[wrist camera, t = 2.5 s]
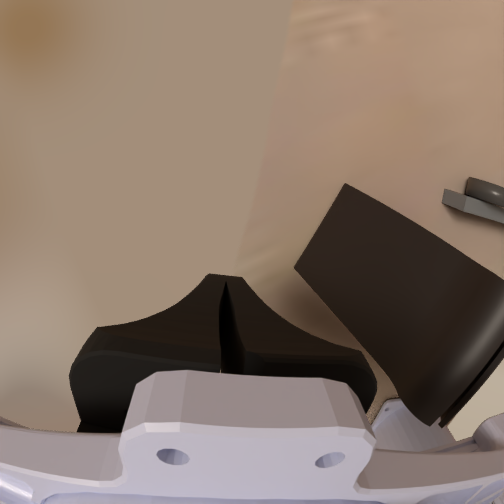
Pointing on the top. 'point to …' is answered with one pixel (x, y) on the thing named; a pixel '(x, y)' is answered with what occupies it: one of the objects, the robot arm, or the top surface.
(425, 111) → the top surface
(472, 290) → the phone stand
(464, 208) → the chassis bay
